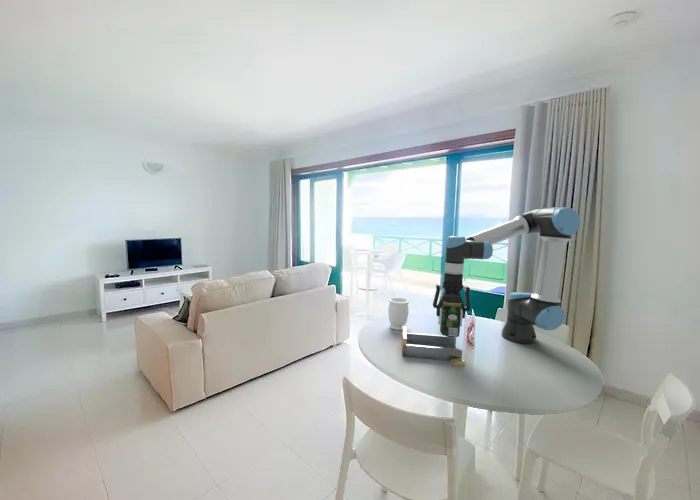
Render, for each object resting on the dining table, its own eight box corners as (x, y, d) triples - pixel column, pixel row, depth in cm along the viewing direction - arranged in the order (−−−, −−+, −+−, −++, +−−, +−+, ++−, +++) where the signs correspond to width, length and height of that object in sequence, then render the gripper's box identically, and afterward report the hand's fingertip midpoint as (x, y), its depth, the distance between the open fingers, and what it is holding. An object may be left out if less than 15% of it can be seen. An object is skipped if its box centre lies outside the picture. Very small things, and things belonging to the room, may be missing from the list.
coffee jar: (438, 329, 139) (441, 288, 137) (456, 330, 137) (460, 290, 135) (440, 337, 129) (444, 293, 127) (460, 339, 128) (464, 295, 126)
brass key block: (460, 362, 126) (460, 358, 126) (464, 365, 124) (464, 360, 124) (450, 364, 125) (450, 359, 124) (454, 367, 122) (454, 362, 122)
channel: (454, 346, 141) (455, 330, 140) (461, 361, 126) (462, 343, 125) (401, 342, 145) (402, 325, 144) (402, 356, 130) (403, 338, 129)
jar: (410, 326, 166) (411, 299, 164) (403, 332, 157) (404, 304, 155) (392, 322, 171) (393, 296, 170) (384, 328, 162) (385, 300, 161)
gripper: (477, 272, 133) (472, 323, 135) (427, 269, 136) (424, 319, 138) (481, 275, 125) (477, 329, 128) (429, 272, 128) (426, 325, 131)
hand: (449, 324), depth 133 cm, fingers closed on coffee jar, 8 cm apart
